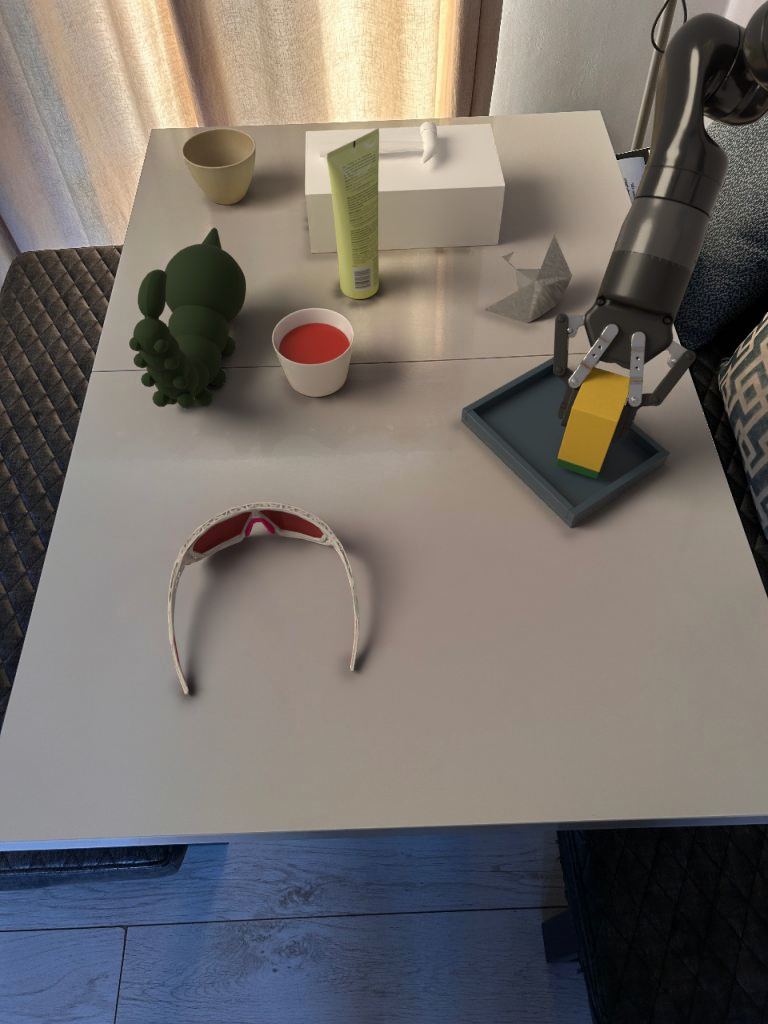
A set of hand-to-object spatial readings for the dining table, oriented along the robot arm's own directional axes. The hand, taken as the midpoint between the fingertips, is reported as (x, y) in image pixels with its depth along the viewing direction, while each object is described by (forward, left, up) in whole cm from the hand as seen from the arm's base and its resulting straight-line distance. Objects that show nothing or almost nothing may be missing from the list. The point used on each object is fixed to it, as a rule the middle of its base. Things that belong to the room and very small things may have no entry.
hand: (589, 433), depth 75 cm
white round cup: (+28, +14, -7) cm, 32 cm away
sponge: (+1, -2, -5) cm, 5 cm away
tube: (+38, +1, -7) cm, 39 cm away
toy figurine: (+39, +24, -7) cm, 46 cm away
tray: (+4, -2, -7) cm, 8 cm away
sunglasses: (+6, +34, -7) cm, 36 cm away
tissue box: (+47, -12, -7) cm, 49 cm away
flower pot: (+66, +5, -7) cm, 67 cm away
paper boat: (+24, -15, -7) cm, 29 cm away
